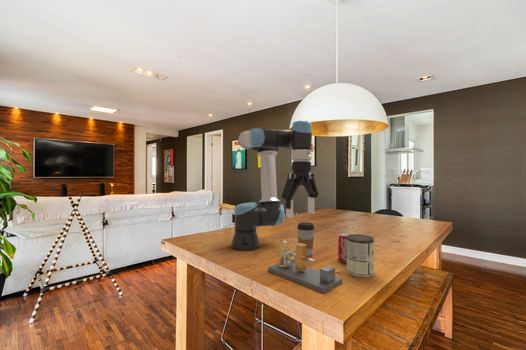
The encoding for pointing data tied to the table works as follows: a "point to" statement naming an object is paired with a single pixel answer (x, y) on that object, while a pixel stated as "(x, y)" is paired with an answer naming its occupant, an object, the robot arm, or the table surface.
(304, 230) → the coffee cup
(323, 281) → the block
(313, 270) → the board
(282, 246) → the brass round knobbed piece
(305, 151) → the robot arm
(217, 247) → the table surface
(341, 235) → the soda can
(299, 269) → the wooden handled lever
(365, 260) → the coffee can
